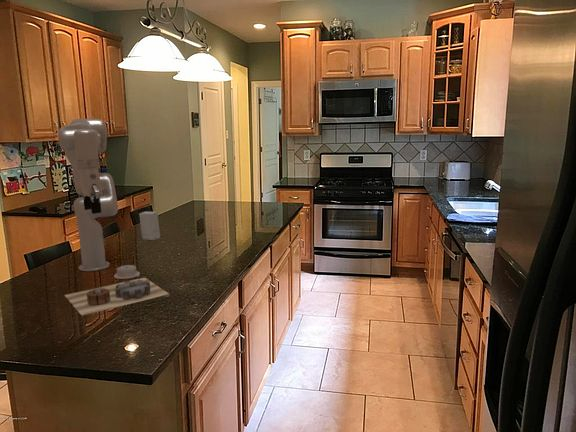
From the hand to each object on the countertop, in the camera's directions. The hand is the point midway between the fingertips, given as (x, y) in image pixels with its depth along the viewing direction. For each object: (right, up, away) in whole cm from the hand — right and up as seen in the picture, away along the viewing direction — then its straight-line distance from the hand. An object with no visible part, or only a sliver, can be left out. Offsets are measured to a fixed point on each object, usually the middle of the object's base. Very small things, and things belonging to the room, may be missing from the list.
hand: (92, 211), depth 171 cm
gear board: (+10, -31, -3) cm, 33 cm away
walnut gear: (+6, -32, -10) cm, 34 cm away
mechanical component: (+6, -27, +19) cm, 34 cm away
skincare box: (-3, -14, +83) cm, 84 cm away
